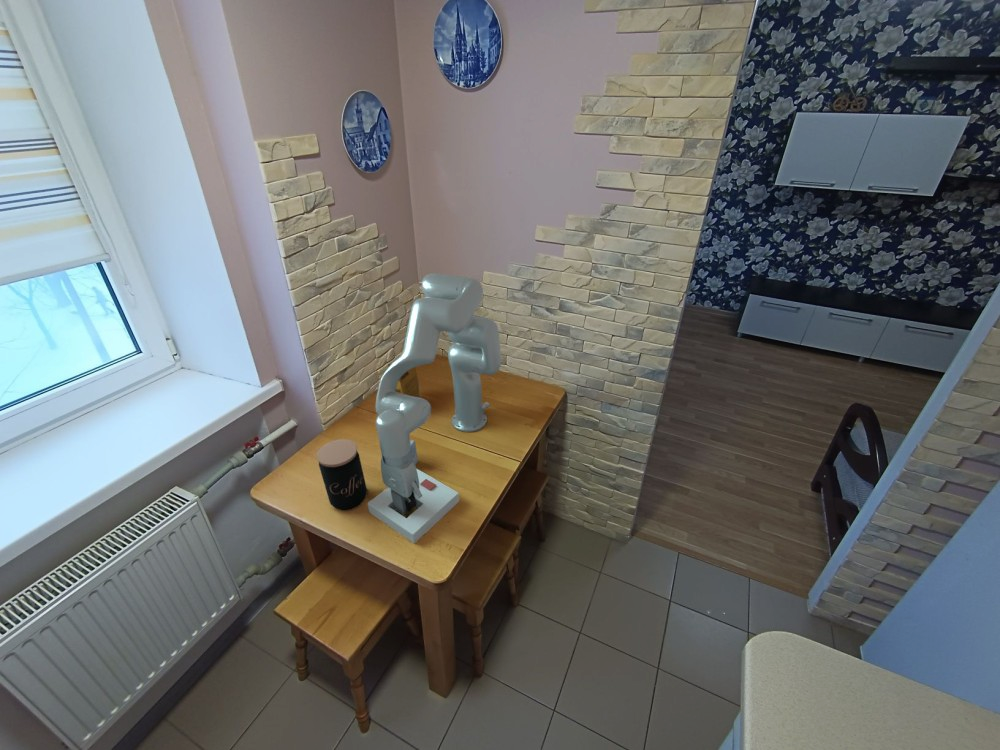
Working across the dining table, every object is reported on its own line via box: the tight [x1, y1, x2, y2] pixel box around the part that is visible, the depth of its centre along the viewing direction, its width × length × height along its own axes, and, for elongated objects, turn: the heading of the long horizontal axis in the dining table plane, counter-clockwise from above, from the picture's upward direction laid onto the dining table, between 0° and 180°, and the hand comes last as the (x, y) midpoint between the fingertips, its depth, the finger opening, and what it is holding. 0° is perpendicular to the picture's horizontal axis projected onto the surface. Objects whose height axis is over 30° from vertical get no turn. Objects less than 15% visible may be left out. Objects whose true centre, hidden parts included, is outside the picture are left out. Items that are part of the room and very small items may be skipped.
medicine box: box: [410, 439, 419, 466], centre depth 144 cm, size 8×4×9 cm, turn 71°
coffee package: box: [387, 350, 421, 398], centre depth 166 cm, size 10×12×22 cm
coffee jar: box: [316, 438, 368, 511], centre depth 129 cm, size 11×11×18 cm
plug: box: [391, 490, 417, 516], centre depth 125 cm, size 5×4×8 cm
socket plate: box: [366, 468, 460, 544], centre depth 130 cm, size 18×18×4 cm
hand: (405, 503), depth 127 cm, fingers closed on plug, 3 cm apart
